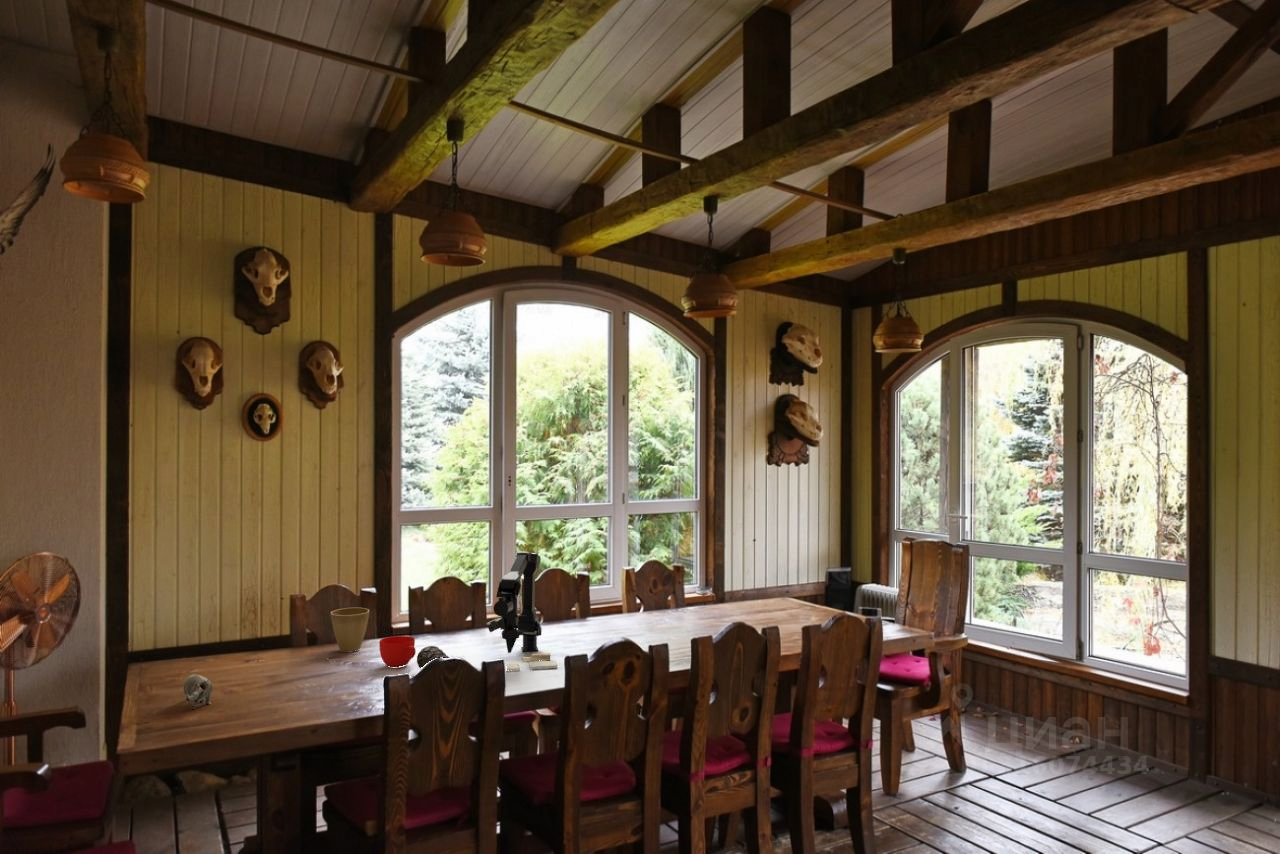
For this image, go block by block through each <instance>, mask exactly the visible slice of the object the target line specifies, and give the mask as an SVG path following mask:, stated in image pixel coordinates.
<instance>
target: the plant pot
mask: <svg viewBox="0 0 1280 854" xmlns="http://www.w3.org/2000/svg"><path fill="white" fill-rule="evenodd" d="M369 615H370V609H368V608H365V607H345V608H339V609H336V610H335V609H334V610H332V611H330V618H331V624H332V628H333V629H332V630H333V633H334V637H335V640H336V643H337V647H338V649H339V651H340V652H341V651H342V652H341V653H345V652H349V653H351V652H350V651H355V650H358V649H359V650H361V646H362V645H363V641H364V639H365V634H366V631H367V627H368V622H369V617H370V616H369ZM359 650H358V651H359Z"/></svg>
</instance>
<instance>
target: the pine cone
mask: <svg viewBox="0 0 1280 854" xmlns="http://www.w3.org/2000/svg"><path fill="white" fill-rule="evenodd" d="M440 657H443V658H450V657H449V656H448V655H447V654H446V653H445V652H444V651H443V649H440V648H439V646H435V645H429V646H428V645H427V646H425V647H423V648H421V650H420V651H419V652H418V653H417V656H416V662H417V666H418V668H419V669H420V668H421V667H423V666H424V665H425V664H426V663H428V662H429V661H431V660H433V659H435V658H440Z"/></svg>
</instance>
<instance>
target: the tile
mask: <svg viewBox="0 0 1280 854" xmlns="http://www.w3.org/2000/svg"><path fill="white" fill-rule="evenodd" d="M505 663H506V666H507V671H508V670H509V672H514V671H513V670H520V671H521V667H520V663H519V662H518V661H517V662H505ZM511 670H512V671H511Z"/></svg>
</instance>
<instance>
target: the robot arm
mask: <svg viewBox="0 0 1280 854" xmlns="http://www.w3.org/2000/svg"><path fill="white" fill-rule="evenodd" d="M515 557H516V558H515V559H514V562H513V564H512V566H511V568H510V571H509V572H508V573H506V574H504V576H502V578H501V579H500V581H499V584H498V587H497V592H496V596H495V597H496V598H498V601H496V602H495V603H494V605H493V612H494V613H495V615H496V616H498V617H497V618H494V619H492V620H490V621H488V622H486V625H487V629H488V631H489V633H492V632H494V631H496V630H499V629H500V630H501V638H502V639H503V640H505V643H506V648H507V649H506V650H507V653H509V654H510V653H512V651H513V648H514V646H515V643H516V642H517V640H518V639H519V638H520V636H522V646H521V647H520V648H521V651H522V652H525V653H526V652H539V648H538V645H537V644H538V640H537V639H538V637H539V636H540V637H541V636H542V632H543V631H542V625H541V623H540V620H539V615H538V614H537V612H536V610H535V607H536V606H535V600H536V599H535V595H536V590H535V589H536V573H538V570H539V569H540V565H541V560H542V559H541V556H540V555H539V554H538V553H537V552H529V551H518V552H517V553H516V556H515ZM522 576H523V591H522V592H523V593H522V594H523V597H522V598H523V599H522V601H523V602H522V612H521V613H520V615H518V598H519V596H520V593H521V589H522V582H521V577H522Z"/></svg>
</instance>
